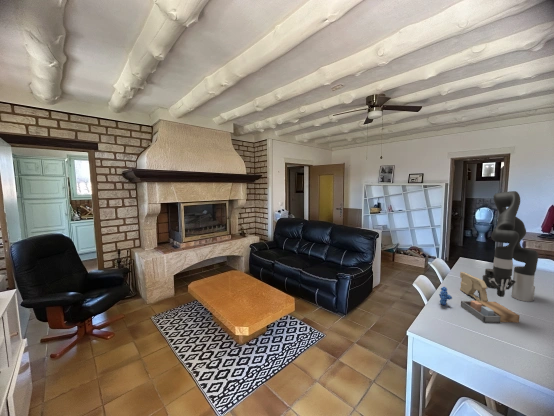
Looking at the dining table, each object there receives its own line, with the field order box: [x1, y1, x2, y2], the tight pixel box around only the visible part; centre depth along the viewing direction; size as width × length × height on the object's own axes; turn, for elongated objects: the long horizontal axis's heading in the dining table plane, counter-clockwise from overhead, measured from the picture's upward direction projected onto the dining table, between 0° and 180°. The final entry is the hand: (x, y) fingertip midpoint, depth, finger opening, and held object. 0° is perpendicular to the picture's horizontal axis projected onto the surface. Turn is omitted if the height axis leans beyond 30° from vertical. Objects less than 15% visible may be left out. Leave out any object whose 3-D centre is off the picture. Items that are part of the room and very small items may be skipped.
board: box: [478, 301, 520, 323], centre depth 132 cm, size 10×15×4 cm, turn 177°
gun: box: [459, 271, 489, 302], centre depth 152 cm, size 24×3×15 cm, turn 169°
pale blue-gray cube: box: [481, 307, 494, 316], centre depth 129 cm, size 4×4×3 cm
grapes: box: [438, 286, 453, 306], centre depth 142 cm, size 12×7×12 cm, turn 140°
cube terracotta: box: [470, 300, 482, 312], centre depth 136 cm, size 4×4×3 cm
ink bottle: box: [482, 268, 495, 289], centre depth 170 cm, size 10×9×12 cm
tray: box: [460, 300, 501, 324], centre depth 133 cm, size 8×17×4 cm, turn 177°
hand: (500, 296), depth 128 cm, fingers closed
